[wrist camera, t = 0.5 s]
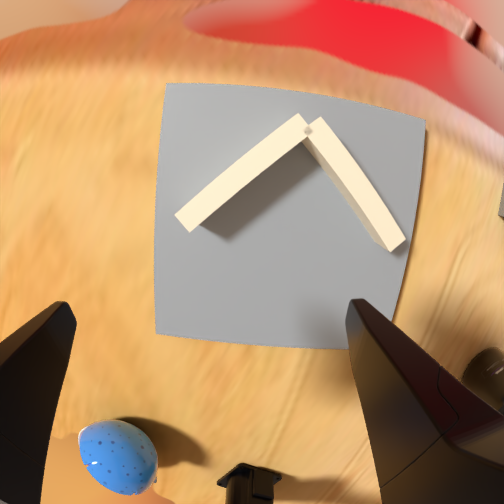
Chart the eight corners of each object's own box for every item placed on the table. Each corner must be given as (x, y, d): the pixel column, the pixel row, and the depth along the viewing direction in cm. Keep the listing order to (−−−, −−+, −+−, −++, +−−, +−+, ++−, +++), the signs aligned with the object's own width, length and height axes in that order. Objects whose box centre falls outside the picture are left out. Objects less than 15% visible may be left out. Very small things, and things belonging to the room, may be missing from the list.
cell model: (76, 425, 31) (48, 475, 22) (115, 388, 29) (81, 450, 19) (136, 466, 33) (118, 518, 24) (186, 437, 31) (171, 502, 21)
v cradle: (377, 340, 27) (394, 367, 22) (160, 325, 26) (145, 352, 22) (416, 121, 21) (445, 116, 17) (171, 87, 21) (154, 72, 17)
